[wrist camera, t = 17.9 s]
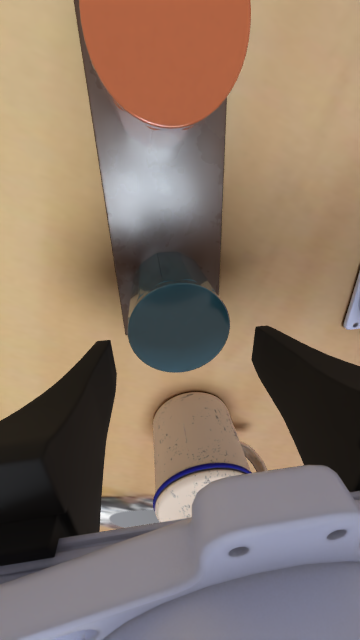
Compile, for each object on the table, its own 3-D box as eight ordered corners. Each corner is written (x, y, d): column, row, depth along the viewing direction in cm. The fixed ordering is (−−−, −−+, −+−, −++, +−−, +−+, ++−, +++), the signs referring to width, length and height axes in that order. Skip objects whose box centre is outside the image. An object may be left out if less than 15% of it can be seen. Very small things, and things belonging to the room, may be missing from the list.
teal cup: (205, 248, 19) (233, 279, 13) (204, 316, 22) (227, 367, 16) (128, 253, 19) (120, 287, 13) (136, 322, 21) (133, 377, 15)
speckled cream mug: (140, 439, 30) (139, 572, 20) (166, 381, 26) (180, 506, 16) (231, 452, 33) (270, 571, 23) (265, 401, 30) (329, 516, 19)
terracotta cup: (208, 19, 14) (260, -115, 8) (206, 148, 16) (244, 127, 10) (98, 17, 13) (58, -130, 7) (115, 150, 16) (96, 129, 10)
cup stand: (225, 3, 14) (277, -113, 9) (214, 320, 24) (236, 363, 18) (76, -1, 14) (29, -131, 8) (126, 328, 23) (120, 375, 17)
